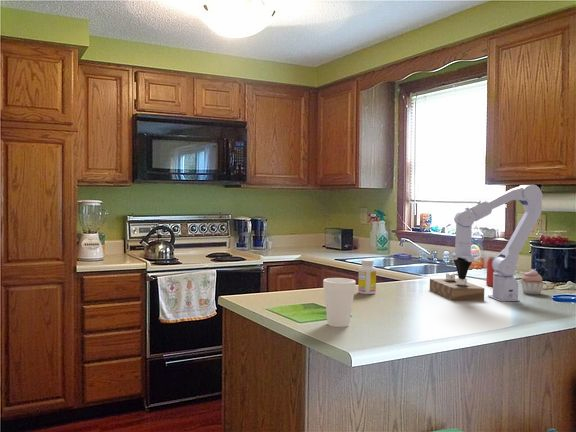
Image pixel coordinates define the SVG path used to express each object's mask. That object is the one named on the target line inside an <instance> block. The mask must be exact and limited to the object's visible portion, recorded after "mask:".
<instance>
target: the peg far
mask: <svg viewBox="0 0 576 432" xmlns="http://www.w3.org/2000/svg"><path fill="white" fill-rule="evenodd" d="M445 279H446V282H455V279H456V273H451V272H446V273H445Z"/></svg>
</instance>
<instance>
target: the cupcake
mask: <svg viewBox="0 0 576 432" xmlns="http://www.w3.org/2000/svg"><path fill="white" fill-rule="evenodd" d="M519 283H520V284H521V290H522V292H523V294H525V295H530V296H536V295H537V296H538V295H541V293H542V289H543V287H544V285H545V281H543V277H542V276H541V275H540V274H539V273H538V271H537V270H536V269H533V268H531V269H530V271H528V272H525V273H524V274H523V275H522V276H521V280H519Z"/></svg>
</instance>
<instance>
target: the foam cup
mask: <svg viewBox="0 0 576 432" xmlns="http://www.w3.org/2000/svg"><path fill="white" fill-rule="evenodd" d="M322 281H323V283H322V284H323V285H322V287H323V292H324V293H323V294H324V301H325V311H326V320H327V321H326V322H327V325H328V326H331V327H336V328H345V327H348V326H350V322H351V317H352V310H353V308H352V307H353V302H354V296H355V291H356V289H357V288H356V283H357V282H356V280H355V279H350V278H346V277H345V278H344V277H328V278H324V279H323V280H322Z"/></svg>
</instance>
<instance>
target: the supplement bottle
mask: <svg viewBox="0 0 576 432" xmlns="http://www.w3.org/2000/svg"><path fill="white" fill-rule="evenodd" d="M360 261H361V265H360V267H358V283H357V284H358V286H357V287H358V290H357V291H358V293H359V294H362V295H374V294H376V291H377V289H376V287H377V286H376V285H377V268H376V266H374V264H375V263H374V259H361V260H360Z"/></svg>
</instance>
